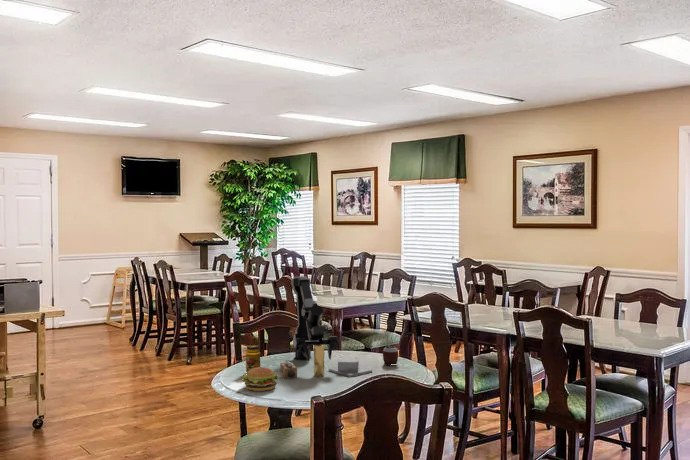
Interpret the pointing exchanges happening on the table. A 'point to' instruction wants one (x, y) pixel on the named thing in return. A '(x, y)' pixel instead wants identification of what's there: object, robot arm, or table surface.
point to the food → (260, 379)
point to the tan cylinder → (318, 360)
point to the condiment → (252, 357)
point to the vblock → (350, 368)
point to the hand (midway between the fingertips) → (319, 359)
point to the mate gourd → (390, 354)
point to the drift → (288, 363)
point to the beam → (288, 371)
